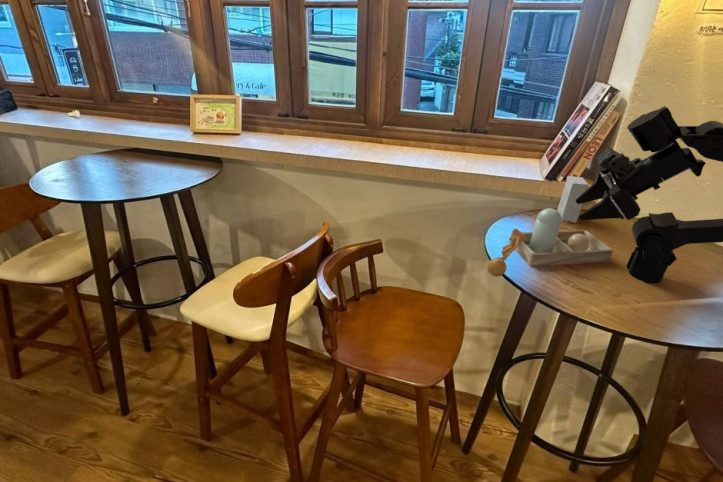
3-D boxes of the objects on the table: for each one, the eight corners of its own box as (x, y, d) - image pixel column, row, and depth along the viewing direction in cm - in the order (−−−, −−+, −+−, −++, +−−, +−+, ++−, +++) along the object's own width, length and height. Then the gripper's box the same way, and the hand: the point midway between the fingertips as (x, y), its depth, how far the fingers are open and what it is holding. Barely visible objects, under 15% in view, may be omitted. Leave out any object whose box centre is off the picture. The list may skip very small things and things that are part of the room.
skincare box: (576, 225, 112) (589, 185, 106) (559, 223, 113) (572, 183, 107) (570, 216, 117) (583, 177, 111) (555, 214, 118) (567, 175, 112)
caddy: (607, 264, 95) (613, 250, 93) (529, 269, 92) (533, 254, 90) (580, 242, 103) (585, 229, 101) (508, 246, 100) (511, 233, 98)
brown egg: (590, 255, 96) (596, 239, 94) (572, 256, 95) (578, 239, 93) (578, 246, 100) (583, 229, 98) (561, 247, 99) (566, 230, 97)
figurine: (488, 263, 93) (499, 216, 87) (515, 270, 91) (528, 222, 85) (483, 282, 86) (494, 233, 80) (512, 289, 84) (526, 239, 78)
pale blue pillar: (553, 252, 97) (567, 208, 91) (547, 261, 93) (561, 216, 87) (531, 245, 99) (543, 202, 94) (524, 254, 96) (536, 209, 90)
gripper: (624, 126, 86) (555, 168, 95) (643, 149, 71) (558, 196, 80) (652, 167, 88) (582, 204, 97) (676, 198, 73) (590, 239, 81)
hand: (578, 210), depth 89 cm, fingers open, 9 cm apart
